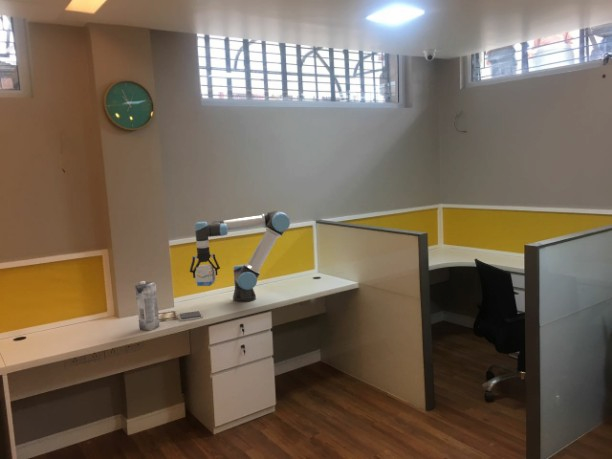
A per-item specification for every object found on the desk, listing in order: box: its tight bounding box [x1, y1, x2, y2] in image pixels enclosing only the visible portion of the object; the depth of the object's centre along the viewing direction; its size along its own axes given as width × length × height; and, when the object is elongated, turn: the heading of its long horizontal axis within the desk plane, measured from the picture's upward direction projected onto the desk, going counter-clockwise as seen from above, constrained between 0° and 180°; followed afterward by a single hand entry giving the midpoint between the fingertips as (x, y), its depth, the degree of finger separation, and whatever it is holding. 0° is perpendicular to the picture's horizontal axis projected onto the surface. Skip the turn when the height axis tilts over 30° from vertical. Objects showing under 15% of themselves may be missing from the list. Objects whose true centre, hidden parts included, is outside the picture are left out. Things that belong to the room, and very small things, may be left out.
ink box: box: [196, 264, 216, 287], centre depth 331 cm, size 9×8×12 cm
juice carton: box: [134, 280, 160, 332], centre depth 300 cm, size 9×10×27 cm
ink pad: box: [177, 310, 203, 322], centre depth 320 cm, size 13×12×1 cm
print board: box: [158, 310, 180, 323], centre depth 321 cm, size 16×15×1 cm
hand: (205, 281), depth 332 cm, fingers closed on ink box, 11 cm apart
